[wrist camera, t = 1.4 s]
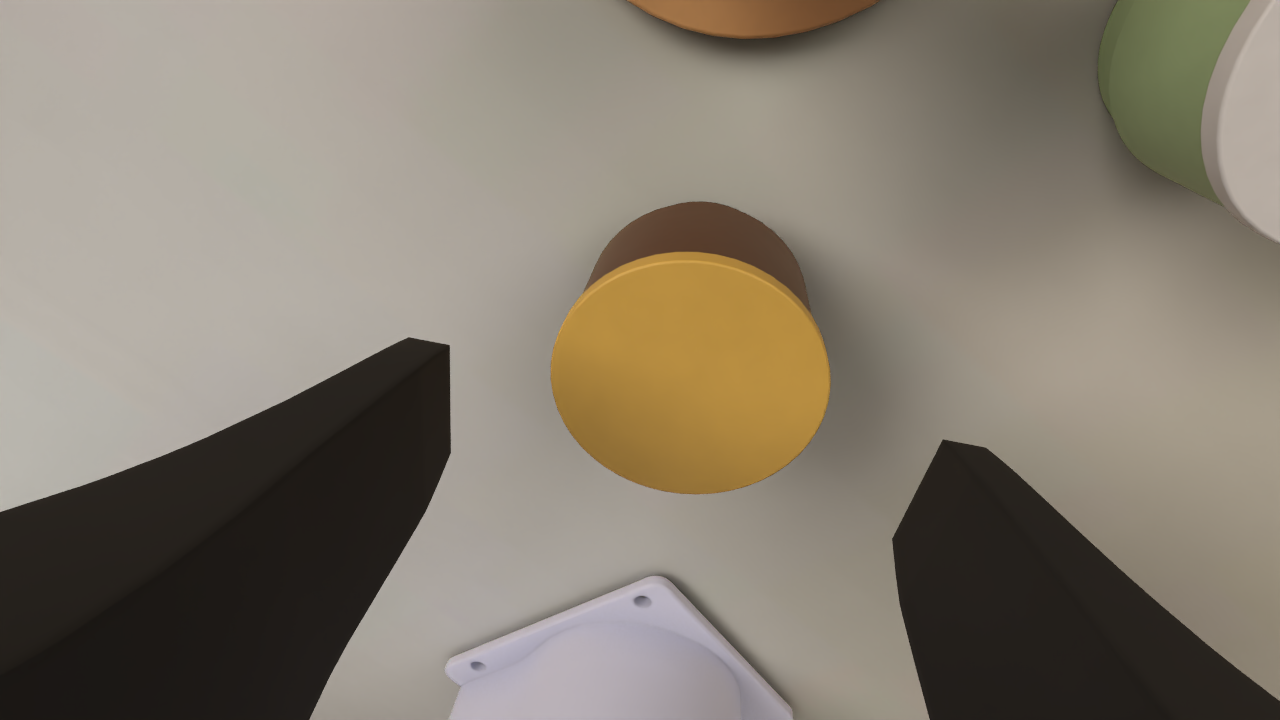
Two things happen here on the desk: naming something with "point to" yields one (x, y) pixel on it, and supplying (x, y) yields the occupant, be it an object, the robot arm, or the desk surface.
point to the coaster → (752, 15)
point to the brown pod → (692, 353)
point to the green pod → (1201, 98)
